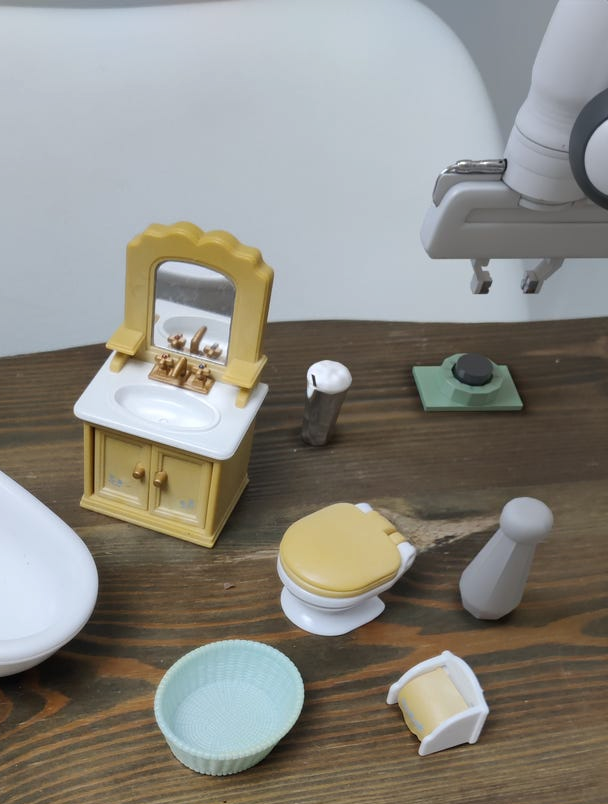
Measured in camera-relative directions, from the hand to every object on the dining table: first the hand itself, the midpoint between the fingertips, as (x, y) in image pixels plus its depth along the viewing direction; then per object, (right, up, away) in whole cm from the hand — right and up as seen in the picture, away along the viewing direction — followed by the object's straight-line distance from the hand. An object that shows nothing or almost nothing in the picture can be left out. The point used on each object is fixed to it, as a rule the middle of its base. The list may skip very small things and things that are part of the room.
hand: (503, 290), depth 102 cm
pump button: (0, -6, +9) cm, 11 cm away
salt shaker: (-5, -33, -7) cm, 34 cm away
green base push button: (0, -8, +11) cm, 13 cm away
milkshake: (-19, -14, +6) cm, 24 cm away
